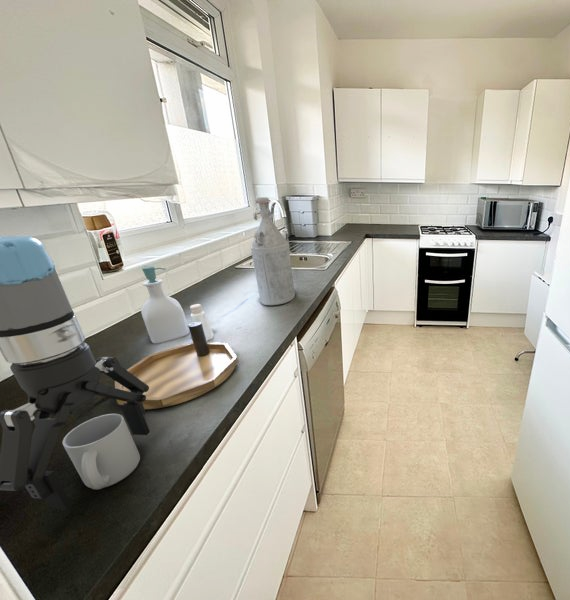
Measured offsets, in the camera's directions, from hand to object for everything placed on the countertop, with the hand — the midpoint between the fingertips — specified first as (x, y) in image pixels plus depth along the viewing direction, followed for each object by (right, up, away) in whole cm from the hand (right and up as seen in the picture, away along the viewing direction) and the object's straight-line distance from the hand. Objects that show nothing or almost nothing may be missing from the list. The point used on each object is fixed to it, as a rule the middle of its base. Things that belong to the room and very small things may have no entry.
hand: (106, 465), depth 51 cm
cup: (0, -3, +1) cm, 3 cm away
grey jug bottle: (-2, +27, +76) cm, 80 cm away
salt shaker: (-13, +15, +46) cm, 50 cm away
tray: (-6, +8, +27) cm, 28 cm away
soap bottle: (-24, +15, +46) cm, 54 cm away
